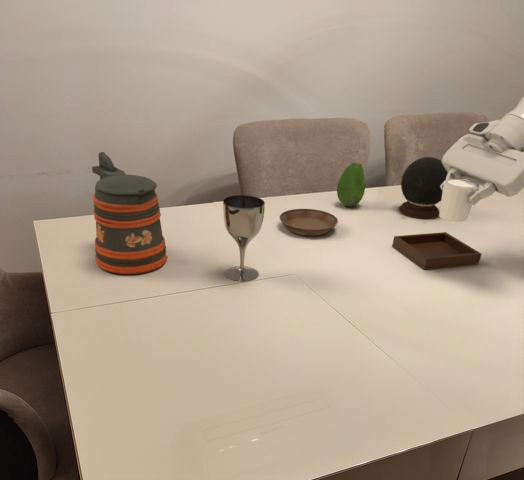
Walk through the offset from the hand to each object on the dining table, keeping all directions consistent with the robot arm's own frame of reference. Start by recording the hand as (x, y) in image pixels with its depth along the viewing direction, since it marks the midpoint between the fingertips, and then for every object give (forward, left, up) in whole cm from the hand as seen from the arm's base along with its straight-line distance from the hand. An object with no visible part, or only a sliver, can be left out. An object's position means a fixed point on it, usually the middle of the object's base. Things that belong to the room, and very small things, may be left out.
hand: (455, 195), depth 102 cm
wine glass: (+43, -7, -16) cm, 46 cm away
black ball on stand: (-18, -35, -16) cm, 43 cm away
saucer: (+19, -29, -16) cm, 38 cm away
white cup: (-1, 0, -5) cm, 5 cm away
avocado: (0, -44, -16) cm, 47 cm away
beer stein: (+65, -20, -16) cm, 70 cm away
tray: (-4, -7, -16) cm, 18 cm away
